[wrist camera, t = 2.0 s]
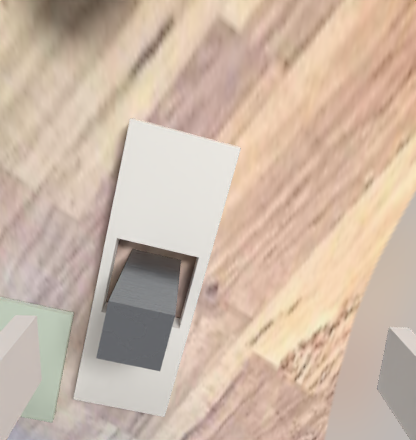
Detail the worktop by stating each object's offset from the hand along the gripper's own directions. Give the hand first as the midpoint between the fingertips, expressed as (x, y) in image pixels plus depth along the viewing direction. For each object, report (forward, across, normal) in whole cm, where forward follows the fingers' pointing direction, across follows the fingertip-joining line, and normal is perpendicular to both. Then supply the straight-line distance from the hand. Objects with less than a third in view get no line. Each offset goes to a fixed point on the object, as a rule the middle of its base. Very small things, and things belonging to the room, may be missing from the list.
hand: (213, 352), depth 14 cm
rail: (+24, -5, -8) cm, 26 cm away
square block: (+24, -5, -8) cm, 26 cm away
